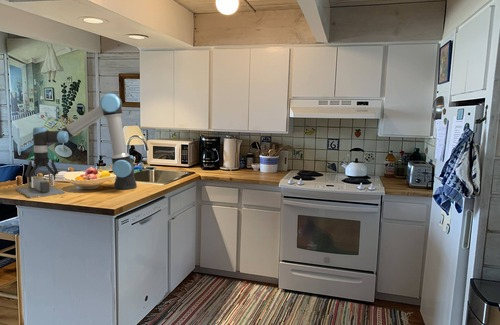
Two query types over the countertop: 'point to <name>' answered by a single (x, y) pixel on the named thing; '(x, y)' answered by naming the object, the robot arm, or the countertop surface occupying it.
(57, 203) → the countertop surface
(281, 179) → the countertop surface
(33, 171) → the robot arm
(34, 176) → the pivot block
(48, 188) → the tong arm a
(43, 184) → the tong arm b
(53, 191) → the cutting board
